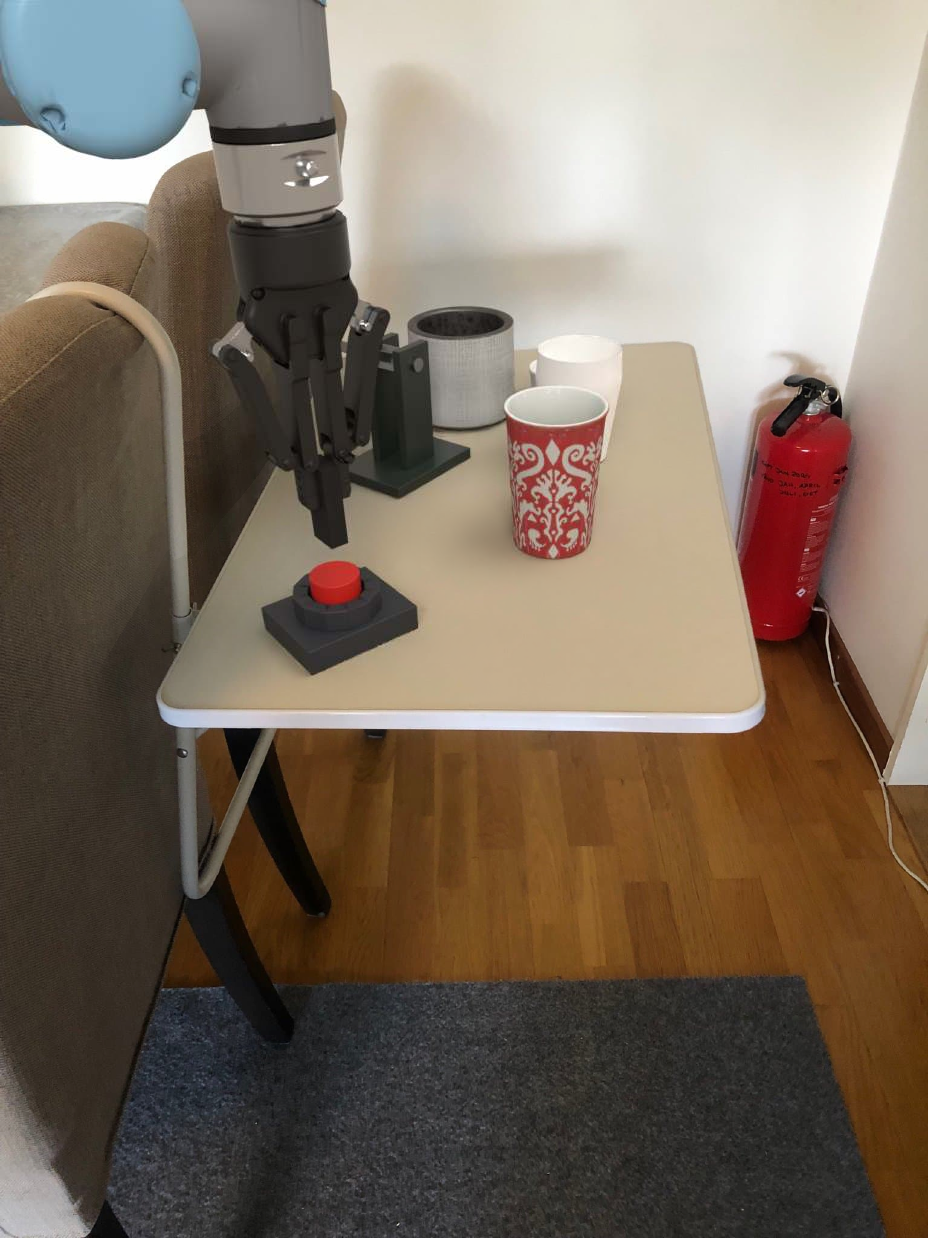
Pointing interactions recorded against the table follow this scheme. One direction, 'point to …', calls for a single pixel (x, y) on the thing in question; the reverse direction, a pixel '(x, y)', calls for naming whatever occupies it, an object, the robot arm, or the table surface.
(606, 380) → the cup
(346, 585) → the button
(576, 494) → the mug
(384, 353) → the switch lever
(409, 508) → the table surface
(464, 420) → the planter
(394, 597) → the switch block
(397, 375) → the lever bracket
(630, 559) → the table surface
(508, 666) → the table surface
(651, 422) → the table surface
